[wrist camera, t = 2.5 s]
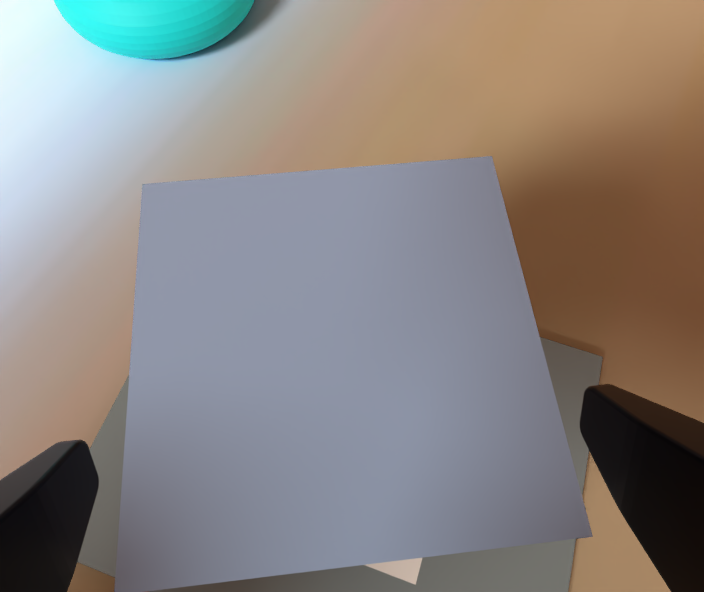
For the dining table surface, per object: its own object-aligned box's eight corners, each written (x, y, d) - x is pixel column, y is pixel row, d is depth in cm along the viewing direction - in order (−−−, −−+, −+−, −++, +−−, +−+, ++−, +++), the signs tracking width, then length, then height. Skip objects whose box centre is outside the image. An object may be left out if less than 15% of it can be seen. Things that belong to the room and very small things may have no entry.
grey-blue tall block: (418, 508, 16) (592, 536, 5) (279, 524, 16) (113, 596, 4) (398, 372, 17) (491, 156, 6) (273, 385, 17) (142, 183, 6)
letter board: (538, 748, 14) (544, 756, 13) (45, 544, 16) (38, 545, 15) (597, 359, 18) (602, 356, 18) (207, 235, 20) (205, 230, 20)
